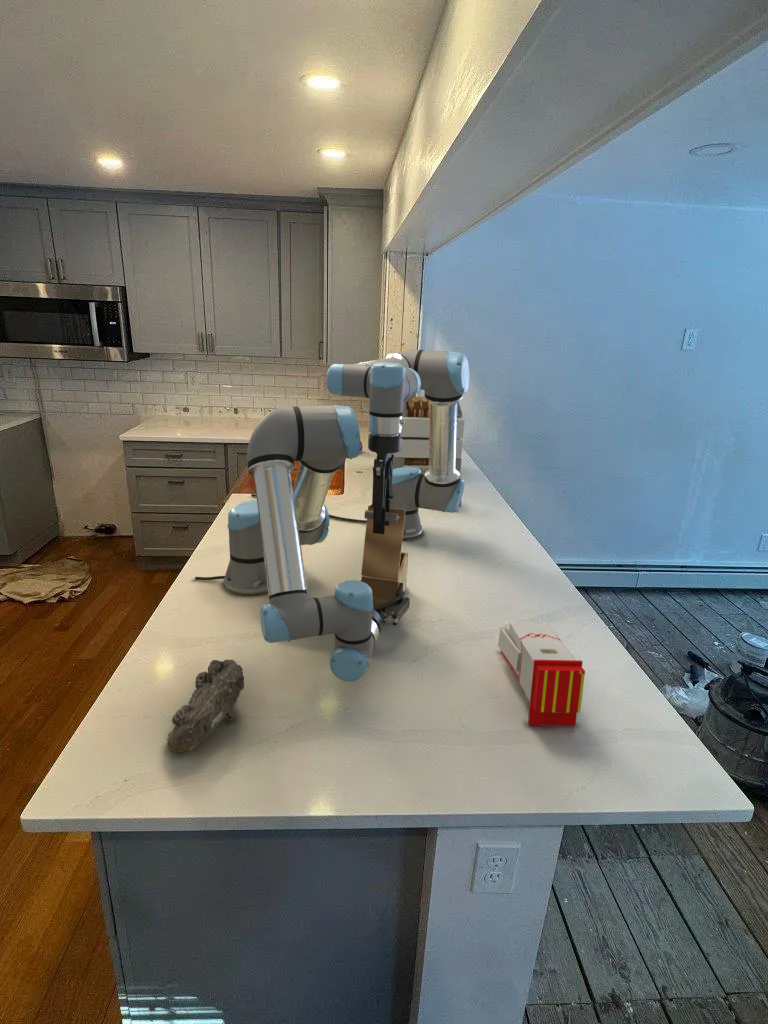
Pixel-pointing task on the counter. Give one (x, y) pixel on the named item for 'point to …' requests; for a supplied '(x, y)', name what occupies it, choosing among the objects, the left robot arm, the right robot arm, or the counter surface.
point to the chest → (387, 584)
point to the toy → (544, 672)
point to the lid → (383, 546)
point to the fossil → (206, 705)
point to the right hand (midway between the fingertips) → (381, 528)
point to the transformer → (421, 435)
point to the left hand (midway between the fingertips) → (382, 585)
